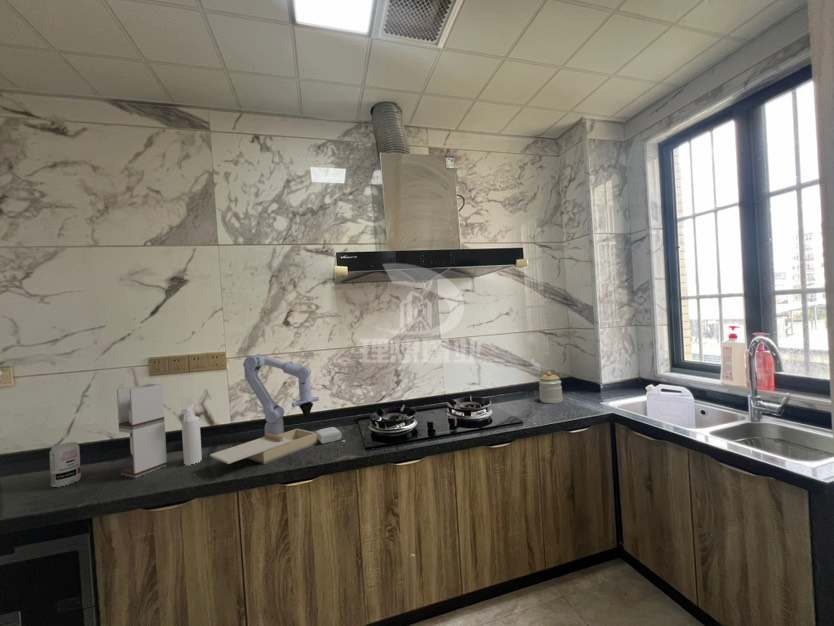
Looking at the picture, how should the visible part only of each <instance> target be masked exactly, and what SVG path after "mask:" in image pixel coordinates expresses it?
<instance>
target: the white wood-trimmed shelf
mask: <svg viewBox="0 0 834 626" xmlns="http://www.w3.org/2000/svg"><path fill="white" fill-rule="evenodd" d="M116 396H117V397H116V398H117V401H116V402H117V418H118V421H117V422H118V432H121V433H125V434H127V433H128V434H129V445H130V454H131V455H132V457H133V458H132V459H133V460H132V461H133V462H132V463H133V465H131V466H130V467H127V468H124V469H121V470H120V475H121V476H122V475H125V476H124V477H126V476H129V477H128V478H130V477H133V478H132V479H134V478H136V479H138V478H137V477H139V478H141V477H140V476H142V475H144V476H146V475H145V474H147V473H150V472H152V471H155V470H157V469H160V468H162V467H165V466H167V467H168V463H167V461H168V460H167V446H166V445H167V444H166V441H167V440H166V428H165V427H166V425H165V424H166V422H165V407H164V404H165V403H164V388H163V383H146V384H141V385H134V386H133V385H132V386H128V387H123V388H122V387H121V388H117V389H116ZM165 468H166V467H165ZM160 470H161V469H160ZM157 471H158V470H157ZM155 472H156V471H155ZM152 473H153V472H152ZM150 474H151V473H150ZM147 475H148V474H147ZM142 477H143V476H142Z"/></svg>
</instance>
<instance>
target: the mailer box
mask: <svg viewBox="0 0 834 626" xmlns="http://www.w3.org/2000/svg"><path fill="white" fill-rule="evenodd" d="M278 436H282V437H283V438H285V439H288V440H290V442H288V443H285V444H283V445H280V446H277V447H274V448H272V449H269V450H266V451H263V452H260V453H258V454H255V455H252V456H249V457H246V458H245V459H249V460H251V461H253V462H256V463H259V464H262V465H266V464H269V463H272V462H274V461H277V460H279V459H282V458H284V457H287V456H289V455H292V454H294V453H298V452H300V451H302V450H305V449H308V448H310V447H313V446H314V445H317V444H318V440H317V433H316V431H315V432H314V431H309V430H306V429H301V428H294V429H292V430H288V431H284V433H282V434H279V435H278Z"/></svg>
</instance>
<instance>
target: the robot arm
mask: <svg viewBox="0 0 834 626" xmlns="http://www.w3.org/2000/svg"><path fill="white" fill-rule="evenodd" d="M242 363H243V364H242V366H243V368H244V373H243V374H244V378H245V380H246V382H247V383H248V384H249V386H250V388H251V390H252V391H253V393H254V394H255V396H256V397H257V399H258V401H259V402H260V405H262V407H263V410H262V411H263V414H264V419H265V421H266V423H265V425H264V426H263V427H264V435H265V434H266V433H270V434H274V435H279V434H282V433H285V431H284V418H283V416H284V415H285V409H284V407H282V406H280V405H279V403H278V402H277V401H275V400H274V399H273V397H272V396H271V395H270V393H269V391H268V390H267V388H266V387H265V384H264V383H263V382H262V380H261V379H260V377H259V375H258V374H259V371H260V369H261V367H263V366H269V367H273V368H276V369H280V370H282V372H283V373H284V374H288V375H290V376H294V377H296V378H297V379H298V393H299V394H298V395H299V396H298V397H299V400H296V401H294V402H291V408H296V407H299V409H300V410H301V413H302V414H303V417H304V419H306V420H307V419H310V415H311V411H312V408H313V406H314V403H315V402H318V401H320V396H314V397H312V386H311V385H312V384H311V376H310V375H311V373H312V370H311V368H310V367H308V366H307V365H304V366H303V365H302V364H297V363H294V361H286V362H284V361H280V360H277V359H275V358H272V357H270V356H267V355H264V354H260V353H258V354H255V355H248V356H247V357H245V359H244V361H243V362H242ZM313 402H314V403H313Z"/></svg>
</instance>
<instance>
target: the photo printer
mask: <svg viewBox="0 0 834 626" xmlns="http://www.w3.org/2000/svg"><path fill="white" fill-rule="evenodd" d="M315 433H317V442H319V443H320V444H328V443H332V442H336V441H339V440H342V437H343V436H342V435H343V434H342V433H341V431H340V430H339V429H338V428H336V426H335V427H334V426H331V427H326V428H321V429H318V430H316V431H315Z"/></svg>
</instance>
